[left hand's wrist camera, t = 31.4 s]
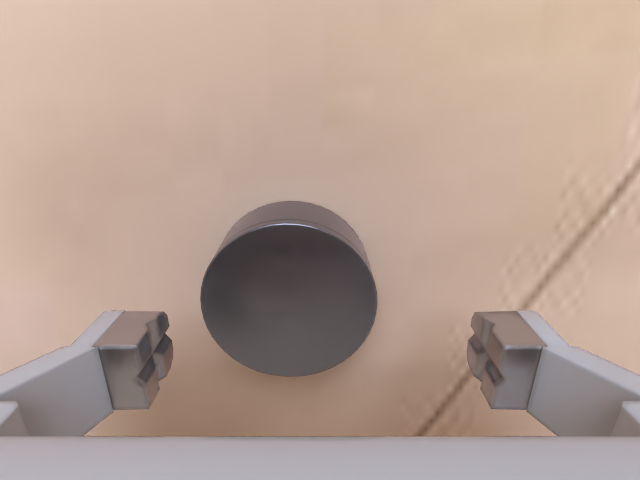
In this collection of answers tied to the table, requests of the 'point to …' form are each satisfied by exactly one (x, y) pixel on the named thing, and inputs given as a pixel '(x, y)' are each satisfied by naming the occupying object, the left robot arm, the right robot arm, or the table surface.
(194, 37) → the table surface
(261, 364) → the lid
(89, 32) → the table surface
